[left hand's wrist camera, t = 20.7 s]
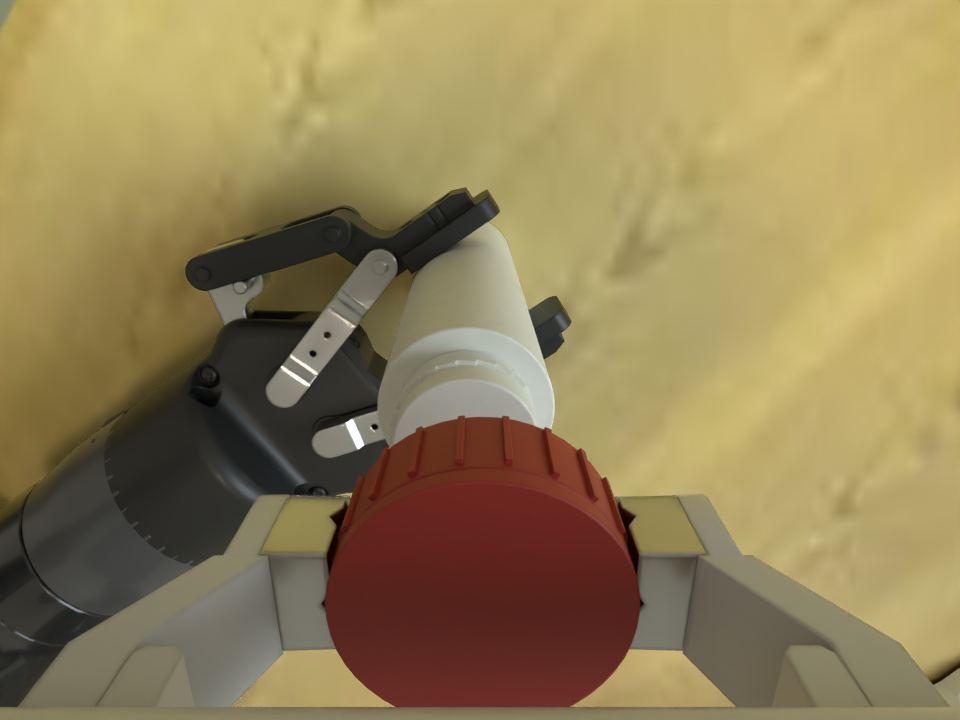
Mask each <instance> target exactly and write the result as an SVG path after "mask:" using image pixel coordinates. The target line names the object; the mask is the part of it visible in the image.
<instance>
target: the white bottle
mask: <svg viewBox="0 0 960 720" xmlns="http://www.w3.org/2000/svg"><path fill="white" fill-rule="evenodd" d="M377 412H378V419H379V424H380V427H381V431H382V433H383V435H384V438H385V440H386V442H387V443H388V445H389V446H390V448H391V447H392V446H393V445H394V444H396V443H398V442H399V441H401V440H402V439H404V438H405V437H407V436H408V435H411V434H413V433H415V432H416V428H418V427H420V426H422V427H423V428H425V427H428V426H431V425H434V424H437V423H440V422H444V421H449V420H454V419H458V416H463V415H465V418H469V417H498V418H502V416H509V419H511V420H517V421H520V422H524V423H528V424H531V425H534V426H537V427H539V428H541V429H544V428H545V427H547V428H549V429H551V427H552V424H553V420H554V412H555V399H554V393H553V388H552V385H551V382H550V378H549V375H548V372H547V369H546V366H545V362H544V359H543V356H542V353H541V350H540V346H539V343H538V340H537V337H536V334H535V330H534V327H533V324H532V321H531V318H530V314H529V311H528V308H527V305H526V302H525V298H524V295H523V292H522V289H521V286H520V282H519V279H518V276H517V273H516V270H515V266H514V263H513V260H512V257H511V254H510V250H509V247H508V244H507V242H506V240H505V239H504V237H503V235H502V234H501V233H500V232H499V231H498V230H497V229H496V228H495V227H494V226H493V225H491V224H490V223H488V222H487V223H486V224H484V225H483V226H481V227H480V228H478V229H477V230H475V231H474V232H472V233H471V234H470V235H468V236H467V237H465V238H464V239H462V240H461V241H459V242H458V243H456V244H455V245H454V246H452V247H451V248H449V249H448V250H446V251H445V252H443V253H442V254H440V255H439V256H438V257H436V258H434V259H433V260H431V261H430V262H428V263H427V264H426V265H424V266H423V267H421V268H420V269H419V270H417V271H416V272H415V275H414V278H413V282H412V285H411V288H410V291H409V295H408V298H407V301H406V304H405V308H404V311H403V314H402V317H401V321H400V324H399V327H398V330H397V334H396V337H395V340H394V343H393V347H392V350H391V353H390V356H389V360H388V363H387V366H386V369H385V373H384V376H383V379H382V382H381V386H380V389H379V394H378V403H377Z"/></svg>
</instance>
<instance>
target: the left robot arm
mask: <svg viewBox="0 0 960 720" xmlns="http://www.w3.org/2000/svg"><path fill="white" fill-rule="evenodd" d="M614 499H615V502H616V504H617V507H618V510H619V513H620V516H621V519H622V522H623V525H624V527H625V530H626V532H627V535H628V538H627V548H628V550H629V553H630V556H631V559H632V562H633V567H634V570H635V573H636V576H637V579H638V585H639V591H640V615H639V621H638V627H637V630H636V633H635V636H634V639H633V642H632V644H631V646H630V648H629V649H642V650H678V651H683V654H684V655H685V656H686V657H687V658H688V659H689V660H690V661H691V662H692V663H693V664H694V665H695V666H696V667H697V668H698V669H699V670H700V671H701V672H702V673H703V674H704V675H705V676H706V677H707V678H708V679H709V680H710V681H711V682H712V683H713V684H714V685H715V686H716V687H717V688H718V689H719V690H720V691H721V692H722V693H723V694H724V695H725V696H726V697H727V698H728V699H729V700H730V701H731V702H732V703H733V704H734V705H735V706H736V707H230V706H231V705H232V704H233V703H234V702H235V701H236V700H237V699H238V698H239V697H240V696H241V695H242V694H243V693H244V692H245V691H246V690H247V689H248V688H249V687H250V686H251V685H252V684H253V683H254V682H255V681H256V680H257V679H258V678H259V677H260V676H261V675H262V674H263V673H264V672H265V671H266V670H267V669H268V668H269V667H270V666H271V665H272V664H273V663H274V662H275V661H276V660H277V659H278V658H279V657H280V656H281V655H282V654H283V653H282V651H287V650H322V649H336V648H335V645H334V643H333V641H332V638H331V636H330V632H329V628H328V624H327V620H326V610H325V596H326V586H327V582H328V578H329V575H330V571H331V568H332V561H333V558H334V555H335V552H336V549H337V546H338V535H337V534H338V531H339V528H340V527H342V524H343V521H344V518H345V515H346V512H347V509H348V506H349V503H350V500H351V498H350V497H349V496H331V495H261V496H259V497H257V498H256V500H255V502H254V503H253V505H252V507H251V508H250V510H249V512H248V513H247V515H246V517H245V519H244V520H243V522H242V524H241V525H240V527H239V529H238V531H237V532H236V534H235V536H234V537H233V539H232V541H231V542H230V544H229V546H228V548H227V549H226V551H225V553H224V554H223V555H214V556H212V557H210V558H209V559H207V560H205V561H204V562H202V563H200V564H199V565H197V566H195V567H194V568H192V569H190V570H189V571H187V572H185V573H184V574H182V575H180V576H179V577H177V578H175V579H174V580H172V581H170V582H169V583H167V584H165V585H164V586H162V587H160V588H159V589H157V590H155V591H154V592H152V593H150V594H148V595H147V596H145V597H143V598H142V599H140V600H138V601H137V602H135V603H133V604H132V605H130V606H128V607H127V608H125V609H123V610H122V611H120V612H118V613H117V614H115V615H113V616H112V617H110V618H108V619H107V620H105V621H103V622H102V623H100V624H98V625H97V626H95V627H93V628H92V629H90V630H88V631H87V632H85V633H83V634H82V635H80V636H78V637H77V638H75V639H73V640H72V641H70V642H68V643H67V644H66V646H65V647H64V648H63V650H62V651H61V652H60V653H59V655H58V656H57V657H56V658H55V660H54V661H53V662H52V664H51V665H50V666H49V667H48V669H47V670H46V671H45V672H44V674H43V675H42V676H41V678H40V679H39V680H38V681H37V683H36V684H35V685H34V687H33V688H32V689H31V690H30V692H29V693H28V694H27V695H26V697H25V698H24V699H23V701H22V702H21V703H20V704H19V706H18V707H0V720H960V668H959V669H957V670H956V671H954V672H953V673H951V674H950V675H949V676H947V677H946V678H944V679H943V680H942V681H940V682H938V683H936V684H934V685H933V684H932V683H931V682H930V680H929V679H928V678H927V677H926V675H925V674H924V673H923V671H922V670H921V669H920V668H919V666H918V665H917V664H916V663H915V661H914V660H913V659H912V658H911V656H910V655H909V654H908V652H907V651H906V650H905V649H904V647H903V646H902V645H901V644H900V643H899V642H897V641H895V640H894V639H892V638H890V637H888V636H887V635H885V634H883V633H882V632H880V631H878V630H877V629H875V628H873V627H872V626H870V625H868V624H867V623H865V622H863V621H862V620H860V619H858V618H856V617H855V616H853V615H851V614H850V613H848V612H846V611H845V610H843V609H841V608H840V607H838V606H836V605H835V604H833V603H831V602H830V601H828V600H826V599H824V598H823V597H821V596H819V595H818V594H816V593H814V592H813V591H811V590H809V589H808V588H806V587H804V586H803V585H801V584H799V583H798V582H796V581H794V580H793V579H791V578H789V577H787V576H786V575H784V574H782V573H781V572H779V571H777V570H776V569H774V568H772V567H771V566H769V565H767V564H766V563H764V562H762V561H761V560H759V559H757V558H755V557H754V556H752V555H742V553H741V551H740V550H739V548H738V546H737V545H736V543H735V542H734V540H733V538H732V537H731V535H730V533H729V532H728V530H727V528H726V527H725V525H724V523H723V522H722V520H721V518H720V517H719V515H718V514H717V512H716V510H715V509H714V507H713V505H712V504H711V502H710V500H709V499H708V497H707V496H705V495H703V494H692V495H673V496H627V497H614Z"/></svg>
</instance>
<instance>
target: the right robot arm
mask: <svg viewBox="0 0 960 720" xmlns="http://www.w3.org/2000/svg"><path fill="white" fill-rule="evenodd" d="M499 212H500V210H499V207H498V205H497V203H496V202H495V200H494V199H493V197H492V196H491V194H490V193H489V191H488V190H485V191H483V192H481V193H480V194H478V195H477V196H475V197H474V198H473V197H472V196H471V194H470V193H469V191H468V190H467V188H466V187H465V188H461V189H456V190H452V191H450V192H449V193H447V194H446V195H444V196H443V197H442V198H440V199H439V200H438V201H436V202H435V203H433V204H432V205H430V206H429V207H428V208H426V209H425V210H423V211H422V212H420V213H419V214H418V215H416V216H415V217H413V218H412V219H411V220H409V221H408V222H406V223H405V224H404V225H402V226H401V227H399V228H398V229H396V230H393V231H382V230H379V229H377V228H375V227H373V226H372V225H370V224H369V223H368V222H366V221H365V220H363V219H362V218H361V216H360V214H359V213H358V211H357V210H355V209H354V208H352V207H350V206H340V207H336V208H333V209H330V210H327V211H324V212H320V213H317V214H314V215H311V216H307V217H304V218H301V219H298V220H295V221H291V222H288V223H285V224H282V225H279V226H275V227H272V228H269V229H266V230H262V231H259V232H256V233H253V234H250V235H246V236H243V237H240V238H237V239H234V240H230V241H227V242H224V243H221V244H219V245H217V246H215V247H213V248H211V249H209V250H207V251H205V252H204V253H202V254H200V255H198V256H197V257H195V258H193V259H191V260H190V261H189V262H188V264H187V266H186V271H185V272H186V277H187V279H188V281H189V282H190V284H191V285H192V286H194V287H195V288H197V289H199V290H202V291H208V292H209V294H210V296H211V298H212V301H213V303H214V305H215V307H216V309H217V311H218V313H219V315H220V317H221V319H222V321H223V324H224V327H223V328H222V329H221V330H220V332H219V334H218V336H217V338H216V341H215V344H214V346H213V348H212V350H211V351H210V352H209V353H207V354H206V355H204V356H203V357H202V358H200V359H199V360H197V361H196V362H195V363H193V364H192V365H190V366H189V367H188V368H186V369H185V370H183V371H182V372H181V373H179V374H178V375H176V376H175V377H174V378H172V379H171V380H169V381H168V382H167V383H165V384H164V385H162V386H161V387H160V388H158V389H157V390H155V391H154V392H153V393H151V394H150V395H148V396H147V397H145V398H144V399H143V400H141V401H140V402H138V403H137V404H136V405H134V406H133V407H131V408H130V409H129V410H127V411H125V412H122V413H120V414H118V415H116V416H115V417H113V418H111V419H110V420H108V421H107V422H106V423H105V424H104V426H103V427H102V429H100V430H99V431H98V432H96V433H95V434H93V435H92V436H91V437H89V438H88V439H86V440H85V441H84V442H82V443H81V444H80V445H79V446H77V447H76V448H75V449H74V450H73V451H72V452H71V453H70V454H68V455H67V456H66V457H65V458H64V459H63V460H62V461H61V462H60V463H59V464H58V465H57V466H56V467H55V468H54V469H53V470H52V471H51V472H50V473H49V474H47V475H46V476H45V477H44V478H42V479H41V480H40V481H38V482H37V483H35V484H34V485H33V486H31V487H30V488H28V489H27V490H25V491H24V492H23V493H21V494H20V495H18V496H17V497H16V498H14V499H13V500H11V501H10V502H8V503H7V504H6V505H4V506H3V507H1V508H0V707H18V706H19V704H20V703H21V702H22V701H23V699H24V698H25V697H26V695H27V694H28V693H29V692H30V690H31V689H32V688H33V687H34V685H35V684H36V683H37V681H38V680H39V679H40V678H41V676H42V675H43V674H44V672H45V671H46V670H47V669H48V667H49V666H50V665H51V664H52V662H53V661H54V660H55V658H56V657H57V656H58V655H59V653H60V652H61V651H62V650H63V648H64V647H65V646H66V644H67V643H68V642H70V641H72V640H73V639H75V638H77V637H78V636H80V635H82V634H83V633H85V632H87V631H88V630H90V629H92V628H93V627H95V626H97V625H98V624H100V623H102V622H103V621H105V620H107V619H108V618H110V617H112V616H113V615H115V614H117V613H118V612H120V611H122V610H123V609H125V608H127V607H128V606H130V605H132V604H133V603H135V602H137V601H138V600H140V599H142V598H143V597H145V596H147V595H148V594H150V593H152V592H154V591H155V590H157V589H159V588H160V587H162V586H164V585H165V584H167V583H169V582H170V581H172V580H174V579H175V578H177V577H179V576H180V575H182V574H184V573H185V572H187V571H189V570H190V569H192V568H194V567H195V566H197V565H199V564H200V563H202V562H204V561H205V560H207V559H209V558H210V557H212V556H214V555H223V554H224V553H225V551H226V549H227V548H228V546H229V544H230V542H231V541H232V539H233V537H234V536H235V534H236V532H237V531H238V529H239V527H240V525H241V524H242V522H243V520H244V519H245V517H246V515H247V513H248V512H249V510H250V508H251V507H252V505H253V503H254V502H255V500H256V498H257V497H259V496H261V495H331V496H336V495H339V494H345V493H353V491H354V488H355V485H356V482H357V479H358V478H359V476H362V477H365V475H366V474H367V472H368V471H369V469H370V468H371V467H372V465H373V464H374V463H375V462H376V461H377V460H378V459H379V457H380V454H381V451H382V450H383V449H384V448H385V447H387V448H388V449H389V445H388V443H387V442H386V440H385V438H384V435H383V433H382V431H381V427H380V424H379V419H378V412H377V403H378V394H379V389H380V386H381V382H382V379H383V376H384V373H385V369H386V366H387V363H388V361H387V360H385V359H384V358H383V357H381V356H380V355H379V354H377V353H376V352H375V351H374V349H373V347H372V345H371V342H370V340H369V338H368V336H367V333H366V332H365V331H364V329H363V328H362V327H361V326H360V324H359V323H360V321H361V320H362V318H363V317H364V315H365V314H366V313H367V311H368V310H369V309H370V307H371V306H372V305H373V304H374V302H375V301H376V300H377V299H378V297H379V296H380V295H381V294H382V292H383V291H384V290H385V289H386V287H387V286H388V285H389V284H390V282H391V281H392V280H393V279H394V278H395V277H396V276H398V275H399V274H401V273H402V272H403V271H405V270H406V269H408V270H409V271H410V272H411V274H413V273H414V272H416V271H417V270H419V269H420V268H421V267H423V266H424V265H426V264H427V263H428V262H430V261H431V260H433V259H434V258H436V257H438V256H439V255H440V254H442V253H443V252H445V251H446V250H448V249H449V248H451V247H452V246H454V245H455V244H456V243H458V242H459V241H461V240H462V239H464V238H465V237H467V236H468V235H470V234H471V233H472V232H474V231H475V230H477V229H478V228H480V227H481V226H483V225H484V224H486V223H487V222H488V221H490V220H491V219H493V218H494V217H495V216H496V215H497V214H498V213H499ZM335 252H336V253H338V254H339V255H341V256H342V257H343V258H345V259H346V260H348V261H349V262H351V263H352V264H354V265H355V266H356V268H355V269H354V270H353V272H352V273H351V274H350V276H349V277H348V278H347V279H346V281H345V282H344V283H343V284H342V286H341V287H340V288H339V290H338V291H337V292H336V293H335V295H334V296H333V297H332V299H331V300H330V301H329V303H328V304H327V305H326V306H325V308H324V309H323V310H322V312H310V311H269V310H254V308H253V300H254V297H256V296H258V295H259V294H260V293H261V292H262V291H263V290H265V289H266V288H267V287H268V285H269V284H270V280H271V275H270V272H273V271H276V270H279V269H283V268H286V267H289V266H292V265H296V264H299V263H302V262H306V261H309V260H312V259H315V258H319V257H322V256H325V255H329V254H332V253H335ZM528 311H529V314H530V318H531V321H532V324H533V327H534V330H535V334H536V337H537V340H538V343H539V346H540V350H541V353H542V356H543V359H545V358H547V357H549V356H550V355H552V354H554V353H555V352H556V351H557V350H558V349H559V347H560V346H561V345H562V343H563V342H564V338H563V336H562V334H561V332H563V331H564V330H566V329H567V328H568V327H569V325H570V324H571V320H570V318H569V316H568V314H567V312H566V310H565V308H564V307H563V305H562V304H561V302H560V301H559V299H558V298H557V296H552V297H549V298H547V299H546V300H544V301H542V302H541V303H539V304H538V305H536V306H535V307H533V308H532V309H530V310H528Z"/></svg>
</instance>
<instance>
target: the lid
mask: <svg viewBox="0 0 960 720" xmlns="http://www.w3.org/2000/svg"><path fill="white" fill-rule="evenodd" d="M337 535H338V546H337V549H336V552H335V555H334V558H333V561H332V568H331V571H330V575H329V578H328V582H327V586H326V596H325V610H326V620H327V624H328V628H329V632H330V636H331V638H332V641H333V643H334V645H335V648H336V650H337V652H338V653H339V655H340V657H341V658H342V660H343V662H344V663H345V665H346V666H347V667H348V668H349V670H350V671H351V672H352V673H353V674H354V676H355V677H356V678H357V679H358V680H359V681H360V682H361V683H362V684H364V685H365V686H366V687H367V688H368V689H369V690H370V691H372V692H373V693H375V694H376V695H377V696H379V697H380V698H381V699H383V700H385V701H386V702H388V703H390V704H392V705H393V706H395V707H570V706H572V705H574V704H576V703H577V702H579V701H580V700H582V699H584V698H585V697H587V696H588V695H590V694H591V693H592V692H593V691H595V690H596V689H597V688H598V687H600V686H601V685H602V684H603V683H604V682H605V681H606V680H607V679H608V678H609V677H610V676H611V675H612V674H613V673H614V672H615V670H616V669H617V668H618V666H619V665H620V663H621V662H622V661H623V659H624V658H625V656H626V654H627V652H628V650H629V648H630V646H631V644H632V642H633V639H634V636H635V633H636V630H637V627H638V621H639V615H640V591H639V585H638V579H637V576H636V573H635V570H634V567H633V562H632V559H631V556H630V553H629V550H628V548H627V538H628V535H627V532H626V530H625V527H624V525H623V522H622V519H621V516H620V513H619V510H618V507H617V504H616V502H615V499H614V496H613V493H612V490H611V487H610V484H609V481H608V480H607V478H606V477H605V478H603V479H601V477H600V475H599V474H598V472H597V471H596V470H595V468H594V467H593V466H592V464H591V463H590V462H589V461H588V460H587V457H586V453H585V451H583V450H582V449H581V448H580V449H579V450H577V449H575V448H574V447H573V446H571V445H570V444H569V443H567V442H566V441H565V440H563V439H561V438H559V437H558V436H556V435H554V434H552V432H551V429H549V428H547V427H545V428H544V429H541V428H539V427H537V426H534V425H531V424H528V423H524V422H520V421H517V420H511V419H509V416H502V418H498V417H469V418H465V415H463V416H458V419H454V420H449V421H444V422H440V423H437V424H434V425H431V426H428V427H425V428H423V427H422V426H420V427H418V428H416V432H415V433H413V434H411V435H408V436H407V437H405V438H404V439H402V440H401V441H399V442H398V443H396V444H394V445H393V446H392V447H391V448H390V449H388V448H387V447H385V448H384V449H383V450H382V451H381V454H380V457H379V459H378V460H377V461H376V462H375V463H374V464H373V465H372V467H371V468H370V469H369V471H368V472H367V474H366V475H365V477H362V476H359V478H358V479H357V482H356V485H355V488H354V491H353V494H352V497H351V500H350V503H349V506H348V509H347V512H346V515H345V518H344V521H343V524H342V527H340V528H339V531H338V534H337Z"/></svg>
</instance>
